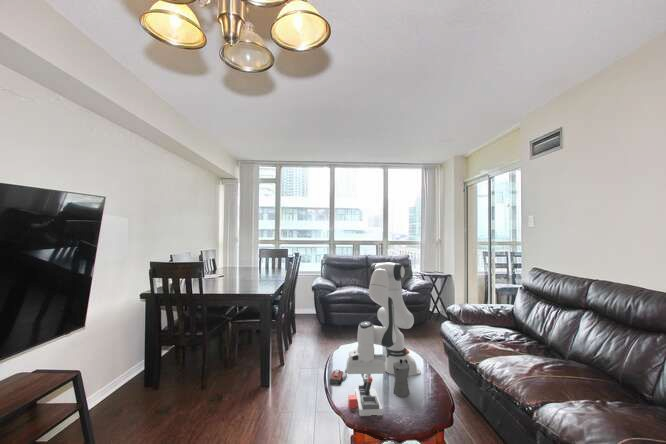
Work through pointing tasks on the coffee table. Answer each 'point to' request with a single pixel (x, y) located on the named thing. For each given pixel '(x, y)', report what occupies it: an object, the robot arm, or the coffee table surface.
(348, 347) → the coffee table surface
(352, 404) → the lockout cap
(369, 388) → the lever tagged
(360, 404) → the white compartment tray
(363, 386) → the lever plain
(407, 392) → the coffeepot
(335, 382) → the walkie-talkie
